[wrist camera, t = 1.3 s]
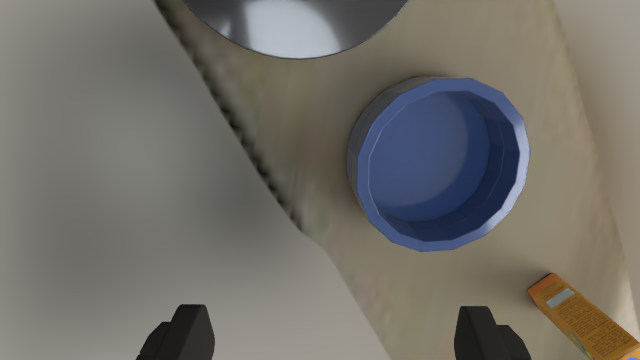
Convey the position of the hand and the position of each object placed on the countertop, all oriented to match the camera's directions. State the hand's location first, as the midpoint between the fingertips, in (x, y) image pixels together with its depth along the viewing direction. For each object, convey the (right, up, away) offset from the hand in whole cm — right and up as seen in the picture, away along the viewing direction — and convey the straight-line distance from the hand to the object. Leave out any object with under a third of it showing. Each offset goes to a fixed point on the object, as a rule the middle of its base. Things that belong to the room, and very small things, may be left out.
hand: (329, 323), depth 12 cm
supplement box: (+23, -7, +26) cm, 35 cm away
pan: (+9, +7, +20) cm, 23 cm away
